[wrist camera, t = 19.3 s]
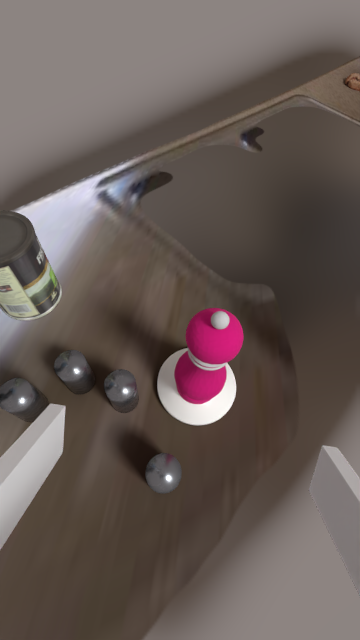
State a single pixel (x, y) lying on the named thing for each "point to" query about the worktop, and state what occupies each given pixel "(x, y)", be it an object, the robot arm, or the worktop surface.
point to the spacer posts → (80, 380)
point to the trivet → (189, 411)
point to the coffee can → (24, 271)
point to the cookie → (353, 81)
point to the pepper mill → (207, 354)
